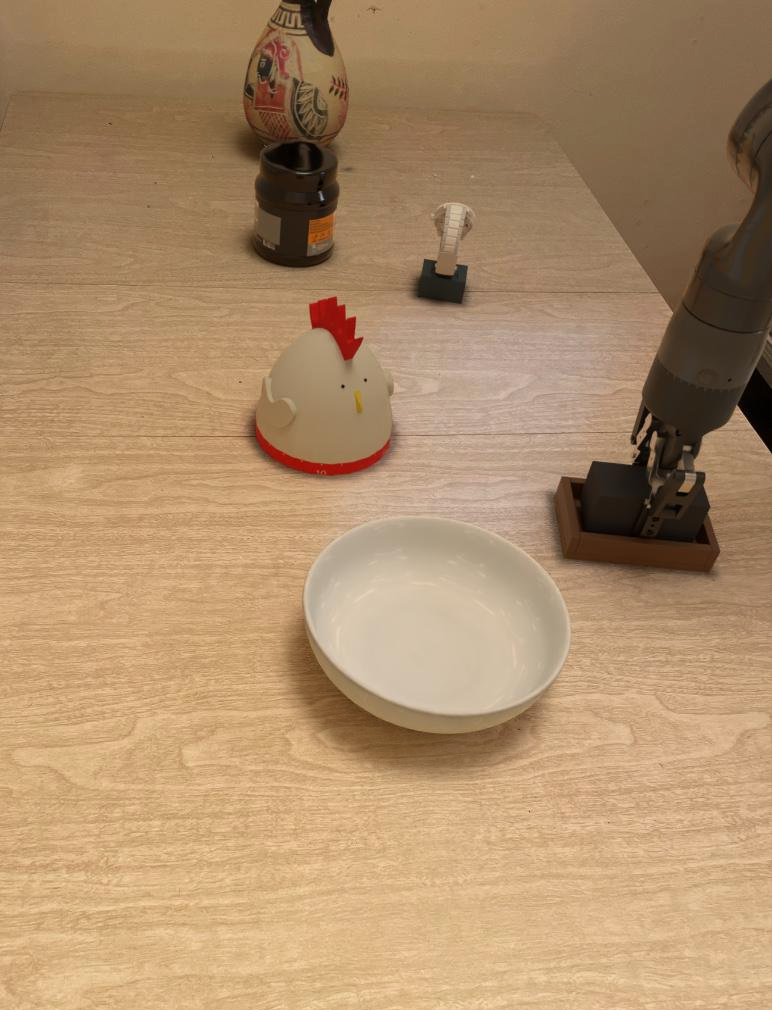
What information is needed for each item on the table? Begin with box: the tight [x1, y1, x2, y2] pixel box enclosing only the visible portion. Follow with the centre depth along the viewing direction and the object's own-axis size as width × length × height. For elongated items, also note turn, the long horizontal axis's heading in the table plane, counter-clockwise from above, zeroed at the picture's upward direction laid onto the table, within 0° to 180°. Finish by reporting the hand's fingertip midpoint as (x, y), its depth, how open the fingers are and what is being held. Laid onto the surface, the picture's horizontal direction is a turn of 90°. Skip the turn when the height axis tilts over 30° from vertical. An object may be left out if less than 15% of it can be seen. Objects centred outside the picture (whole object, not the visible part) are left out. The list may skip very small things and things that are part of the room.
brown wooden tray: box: [553, 475, 721, 574], centre depth 91 cm, size 14×9×3 cm, turn 87°
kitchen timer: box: [254, 295, 395, 476], centre depth 93 cm, size 14×14×15 cm
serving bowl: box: [301, 514, 573, 735], centre depth 77 cm, size 21×21×7 cm
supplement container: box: [252, 141, 341, 268], centre depth 120 cm, size 10×10×12 cm
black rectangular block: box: [579, 460, 711, 543], centre depth 89 cm, size 10×5×4 cm, turn 87°
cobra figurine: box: [416, 202, 476, 305], centre depth 116 cm, size 6×8×11 cm
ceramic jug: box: [242, 0, 350, 149], centre depth 134 cm, size 17×15×30 cm
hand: (637, 514), depth 90 cm, fingers closed on black rectangular block, 5 cm apart
